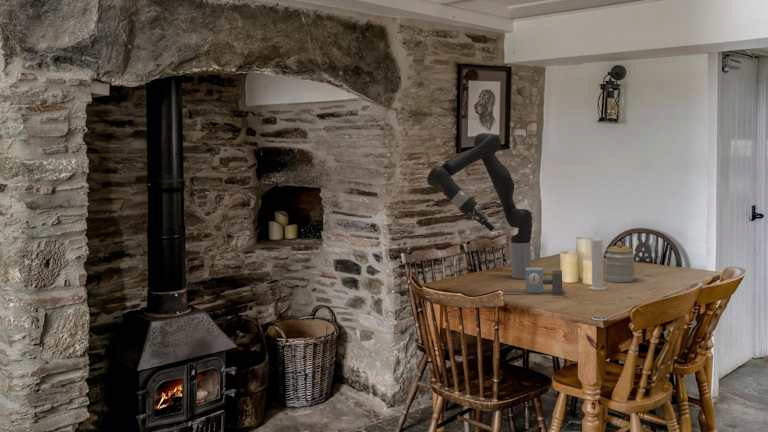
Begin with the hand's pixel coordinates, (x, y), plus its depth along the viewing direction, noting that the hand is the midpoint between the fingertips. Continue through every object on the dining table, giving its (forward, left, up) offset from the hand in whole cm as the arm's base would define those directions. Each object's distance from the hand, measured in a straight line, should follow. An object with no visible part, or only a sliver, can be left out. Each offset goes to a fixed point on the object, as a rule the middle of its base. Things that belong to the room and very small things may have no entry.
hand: (492, 229), depth 313 cm
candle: (-10, +44, -28) cm, 53 cm away
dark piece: (+3, +16, -28) cm, 32 cm away
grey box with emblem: (+3, +19, -27) cm, 33 cm away
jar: (-30, +55, -28) cm, 69 cm away
